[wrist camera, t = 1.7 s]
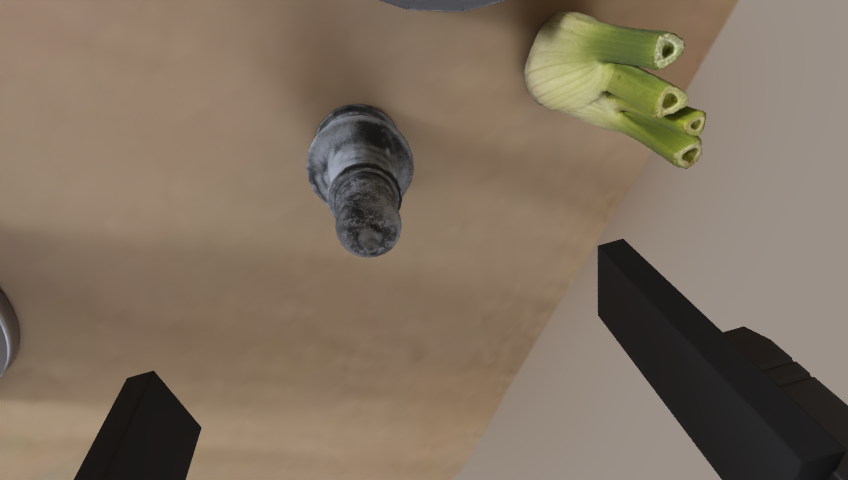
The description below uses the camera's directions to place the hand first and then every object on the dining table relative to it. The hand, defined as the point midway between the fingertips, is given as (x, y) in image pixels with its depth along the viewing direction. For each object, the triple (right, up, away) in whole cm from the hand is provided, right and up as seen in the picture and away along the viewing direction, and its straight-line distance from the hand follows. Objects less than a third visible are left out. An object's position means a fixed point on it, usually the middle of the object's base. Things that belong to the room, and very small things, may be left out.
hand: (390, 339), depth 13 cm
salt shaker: (-3, +9, +14) cm, 17 cm away
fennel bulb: (+9, +14, +14) cm, 21 cm away
